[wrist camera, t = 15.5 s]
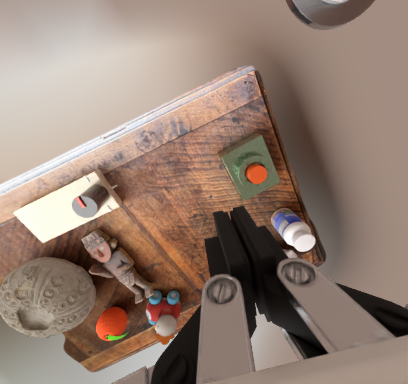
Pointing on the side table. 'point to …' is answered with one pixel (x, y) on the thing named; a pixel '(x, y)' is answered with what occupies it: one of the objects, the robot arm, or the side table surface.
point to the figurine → (115, 263)
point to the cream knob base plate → (63, 208)
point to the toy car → (164, 314)
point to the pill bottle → (293, 229)
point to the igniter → (244, 157)
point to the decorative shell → (46, 296)
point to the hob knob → (90, 201)
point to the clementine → (111, 324)
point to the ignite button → (256, 173)
